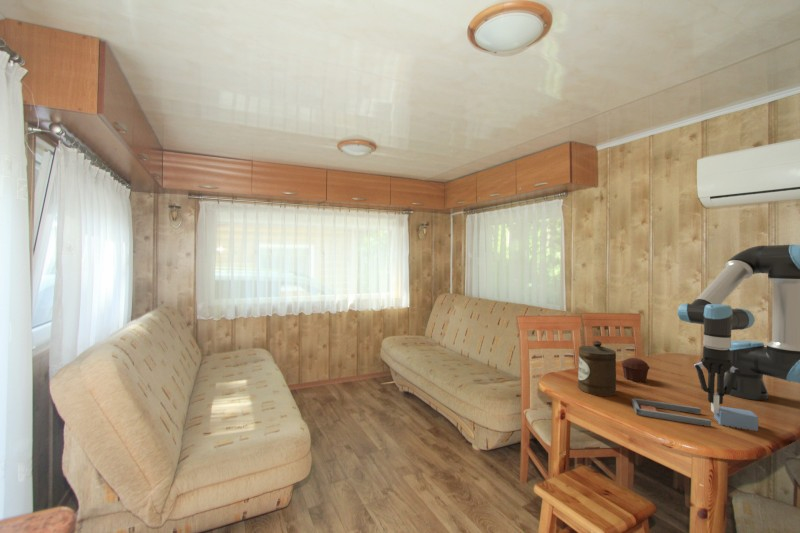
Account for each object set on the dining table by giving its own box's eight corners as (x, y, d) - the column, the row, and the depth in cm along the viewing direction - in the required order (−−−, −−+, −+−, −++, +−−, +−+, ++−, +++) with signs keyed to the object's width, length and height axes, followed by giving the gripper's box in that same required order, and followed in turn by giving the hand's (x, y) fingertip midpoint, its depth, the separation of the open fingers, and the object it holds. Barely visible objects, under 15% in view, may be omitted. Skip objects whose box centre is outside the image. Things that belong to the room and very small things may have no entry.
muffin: (642, 376, 179) (643, 356, 179) (654, 383, 168) (654, 362, 168) (616, 374, 181) (617, 355, 181) (626, 382, 170) (627, 361, 170)
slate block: (750, 424, 128) (750, 410, 128) (757, 431, 122) (758, 417, 122) (714, 418, 132) (714, 405, 132) (720, 425, 127) (720, 411, 127)
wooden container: (576, 382, 170) (577, 336, 169) (612, 387, 164) (613, 339, 163) (579, 393, 156) (580, 343, 155) (618, 398, 150) (619, 346, 150)
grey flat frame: (699, 413, 137) (699, 407, 136) (710, 426, 125) (711, 421, 125) (631, 402, 146) (631, 397, 146) (636, 414, 135) (636, 409, 135)
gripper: (735, 347, 130) (734, 411, 130) (691, 343, 135) (689, 404, 136) (745, 351, 123) (743, 419, 123) (697, 347, 129) (695, 412, 129)
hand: (714, 411), depth 130 cm, fingers closed
